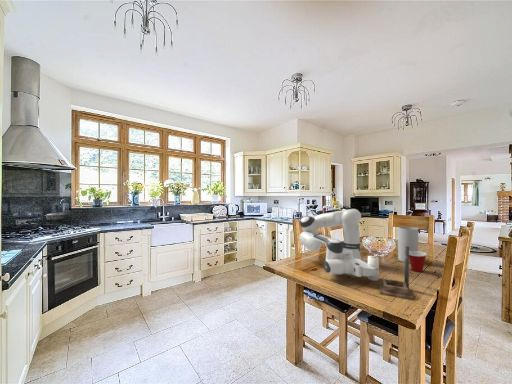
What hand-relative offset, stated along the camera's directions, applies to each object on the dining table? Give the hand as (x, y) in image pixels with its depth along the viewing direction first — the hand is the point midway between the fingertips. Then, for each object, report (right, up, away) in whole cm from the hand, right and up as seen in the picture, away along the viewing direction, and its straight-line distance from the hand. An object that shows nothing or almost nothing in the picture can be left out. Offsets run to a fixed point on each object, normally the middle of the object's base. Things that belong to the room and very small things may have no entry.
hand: (374, 266), depth 138 cm
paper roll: (-1, -8, 0) cm, 8 cm away
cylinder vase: (+43, -7, +34) cm, 55 cm away
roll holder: (+2, -8, -17) cm, 19 cm away
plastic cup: (+35, -8, +14) cm, 38 cm away
